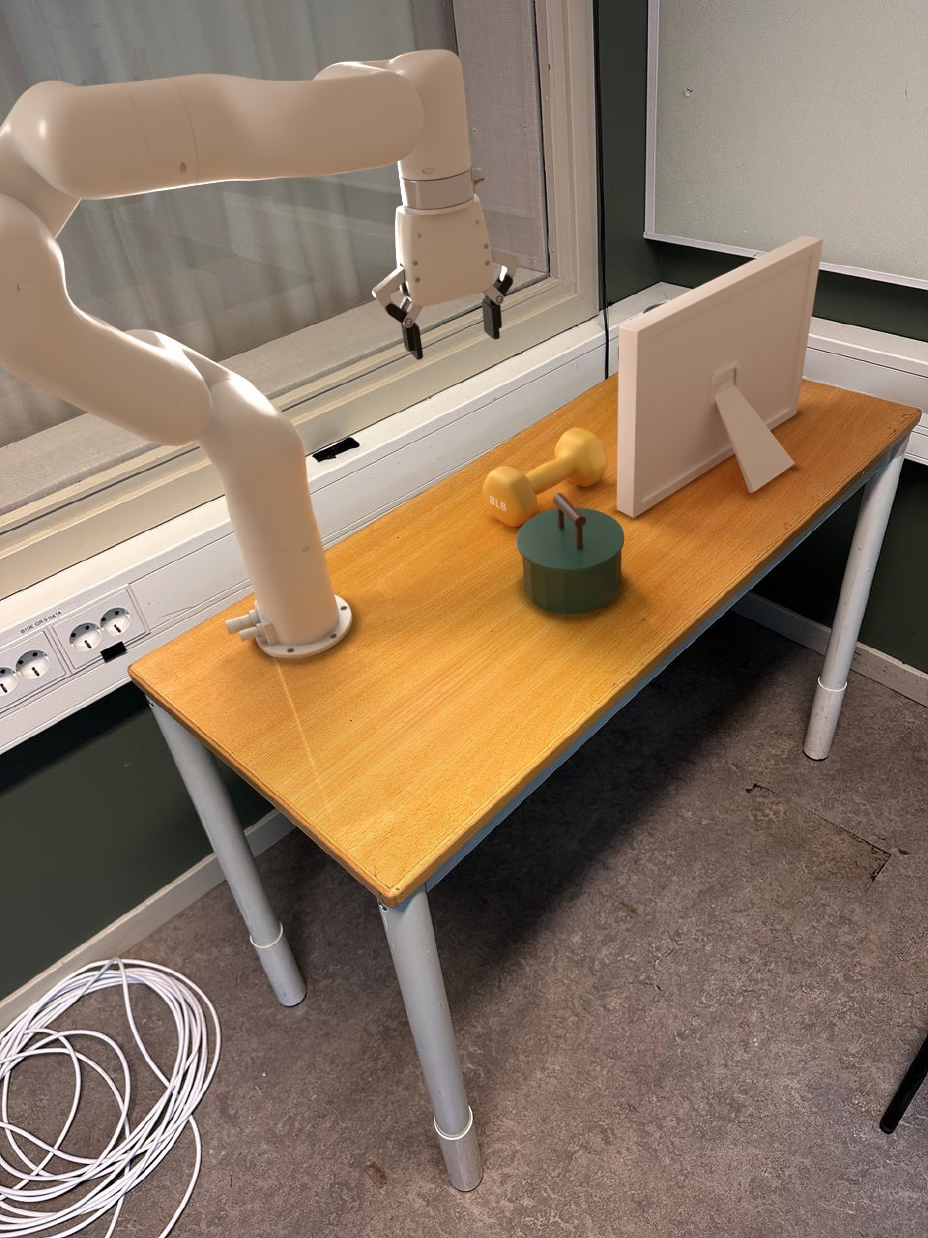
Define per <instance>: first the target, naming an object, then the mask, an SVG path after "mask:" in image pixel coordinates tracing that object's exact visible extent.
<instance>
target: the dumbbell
mask: <svg viewBox="0 0 928 1238" xmlns="http://www.w3.org/2000/svg"><path fill="white" fill-rule="evenodd" d="M553 454H554V459H551V460H549V461H546V462H544V463H543V464H540V465H539V466H537V467H536V468H534V469H532V470H530V471H529V472H527V473H526V474H525V473H524V472H522V471H520V470H519V469H516V468H514V467H512V466H508V465H501V466H498V467H496V468H495V469H493V470H491V471H490V472H489V473H488V474H487V476H486V479H485V481H484V483H483V485H482V494H483V497H484V500H485V502H486V504H487V507H488V510H489V511H490V513H491V515H492V517H493V518H494V519H496V520H497V521H499V522H500V523H502V524H503V525H506V526H507V527H510V528H520V527H522V526H523V525H524V524H525V523H526V522H527V521H528V520H529V519H531V518H532V517H533V515H534V513H535V511H536V509H537V506H538V498H537V496H538V495H540V494H543V493H545V492H546V491H548V490H550V489H552V488H553V487H555V486H557V485H559V484H560V483H562V482H563V481H565V480H567V481H568V482H570V483H572V484H574V485H576V486H579V487H581V488H589V487H590V486H592V485H594V484H595V483H597V482H599V480H600V479H601V478H602V476H603V475H605V473H606V470H607V468H608V465H609V459H608V456H607V453H606V452H605V449H604V445H603V444H602V441H601V439H600V437H599V436H598V435H596V434H595V433H593V432H591V431H589V430H587V429H585V428H583V427H576V426H575V427H572V428H570V429H568V430H567V431H565V432H564V433H563V434H562V435H561V436H560V438H559V439H558V441H557V442H556V445H555V447H554V450H553Z"/></svg>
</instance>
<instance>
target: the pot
mask: <svg viewBox="0 0 928 1238" xmlns="http://www.w3.org/2000/svg"><path fill="white" fill-rule="evenodd" d="M521 561H522V572H523V574H522V575H523V576H522V577H523V589H524V594H525V595H526V597H527V598H528V599H529V601H531V603H532V604H534V605H536V606H538V607H539V608H541V609H543V610H545V611H547V612H551V613H555V614H561V615H578V614H579V615H581V614H587V613H590V612H593V611H596V610H599V609H601V608H604V607H605V606H607V605H608V604H609V603H610V602H612V601H614V599H615V598H617V595H618V593H619V591H620V590H621V587H622V550H621V551H620V552H619V554H618V555H617V556H616V557H615V558H614V559H612V560H611V561H609V562H608V563H606V564H604V565H602V566H599V567H597V568H594V569H590V570H586V571H580V572H556V571H550V570H546V569H542V568H539V567H537V566H535V565H533V564H531V563H529V562H528V561H527V560H525V559H524V558H523V557H522V556H521Z"/></svg>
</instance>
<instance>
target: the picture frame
mask: <svg viewBox="0 0 928 1238" xmlns="http://www.w3.org/2000/svg"><path fill="white" fill-rule="evenodd" d="M823 244H824V239H823V238H819V237H813V236H808V235H802V236H799V237H798V238H796V239H793V240H792V241H789V242H787V243H786V244H783V245H781V246H779V247H777V248H775V249H773V250H771V251H769V252H766V253H765V254H763V255H761V256H759V257H756V258H754V259H752V260H750V261H748V262H746V263H744V264H742V265H740V266H738V267H737V268H734V269H732V270H730V271H728V272H726V273H724V274H722V275H719V276H718V277H716V278H714V279H712V280H710V281H707V282H704V283H703V284H701V285H700V286H698V287H695V288H693V289H692V290H689V291H687V292H685V293H683V294H681V295H679V296H677V297H675V298H672V299H671V300H669V301H666V302H667V303H666V302H663V303H664V304H662V305H660V306H658V307H656V308H654V309H652V310H650V311H648V312H646V313H644V314H643V313H642V314H640V315H638V316H636V317H634V318H632V319H630V320H628V321H625V322H624V323H622V324H620V325H619V326H618V345H619V361H618V360H617V368H618V370H617V371H618V375H617V378H618V379H617V382H618V383H617V452H616V453H617V457H616V458H617V460H616V461H617V463H616V467H617V469H616V510H617V511H619V512H621V513H623V514H625V515H627V516H629V517H631V518H632V519H635V518H636V517H638V516H639V515H641V514H642V513H644V512H645V511H647V510H649V509H650V508H652V507H653V506H655V505H657V504H658V503H660V502H661V501H662V500H664V499H666V498H667V497H669V496H671V495H672V494H674V493H675V492H677V491H678V490H680V489H681V488H683V487H685V486H686V485H688V484H690V483H691V482H692V481H694V480H695V479H697V478H698V477H700V476H702V475H703V474H704V473H706V472H708V471H710V470H711V469H713V468H715V466H717V465H719V464H721V463H722V462H723V461H725V460H726V459H728V458H730V457H732V456H733V455H735V457H736V460H737V463H738V464H739V468H740V471H741V473H742V476H743V479H744V481H745V484H746V487H747V490H748V492H749V494H752V493H754V492H756V491H757V490H759V489H761V488H763V486H765V485H766V484H767V483H769V482H770V481H772V480H774V479H775V478H776V477H777V476H779V475H781V474H782V473H783V472H785V471H786V470H788V469H789V468H791V467H792V466H794V465H795V464H796V462H795V461H794V460H793V459H792V458H791V456H790V455H789V453H788V452H787V451H786V449H785V448H784V447H783V446H782V444H781V443H780V442H779V440H778V439H777V438H776V436H775V435H774V434H773V432H772V431H773V429H775V428H777V427H778V426H779V425H781V424H783V423H784V422H786V421H787V420H789V419H791V418H792V417H794V416H795V415H797V413H798V408H799V400H800V395H801V387H802V380H803V375H804V368H805V363H806V355H807V349H808V343H809V336H810V330H811V329H810V328H811V322H812V316H813V315H812V314H813V309H814V303H815V296H816V289H817V283H818V276H819V270H820V262H821V257H822V250H823Z"/></svg>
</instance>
